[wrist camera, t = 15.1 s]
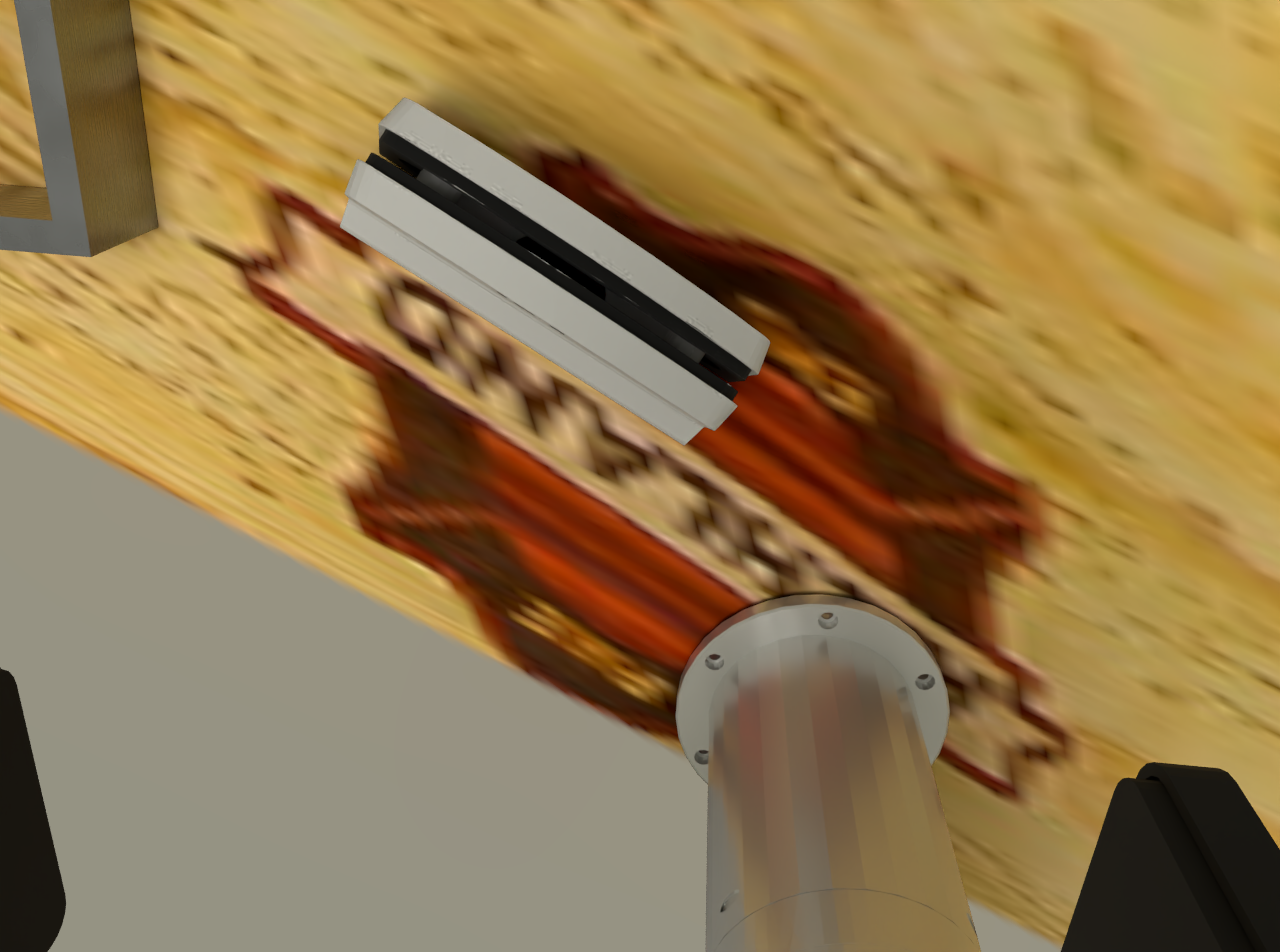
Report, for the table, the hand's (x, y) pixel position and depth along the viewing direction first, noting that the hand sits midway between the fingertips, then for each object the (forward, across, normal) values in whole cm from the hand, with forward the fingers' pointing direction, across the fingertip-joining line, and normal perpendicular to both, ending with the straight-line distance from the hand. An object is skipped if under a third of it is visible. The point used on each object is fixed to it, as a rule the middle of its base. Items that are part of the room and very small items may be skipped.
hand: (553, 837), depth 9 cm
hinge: (+35, +4, +4) cm, 35 cm away
